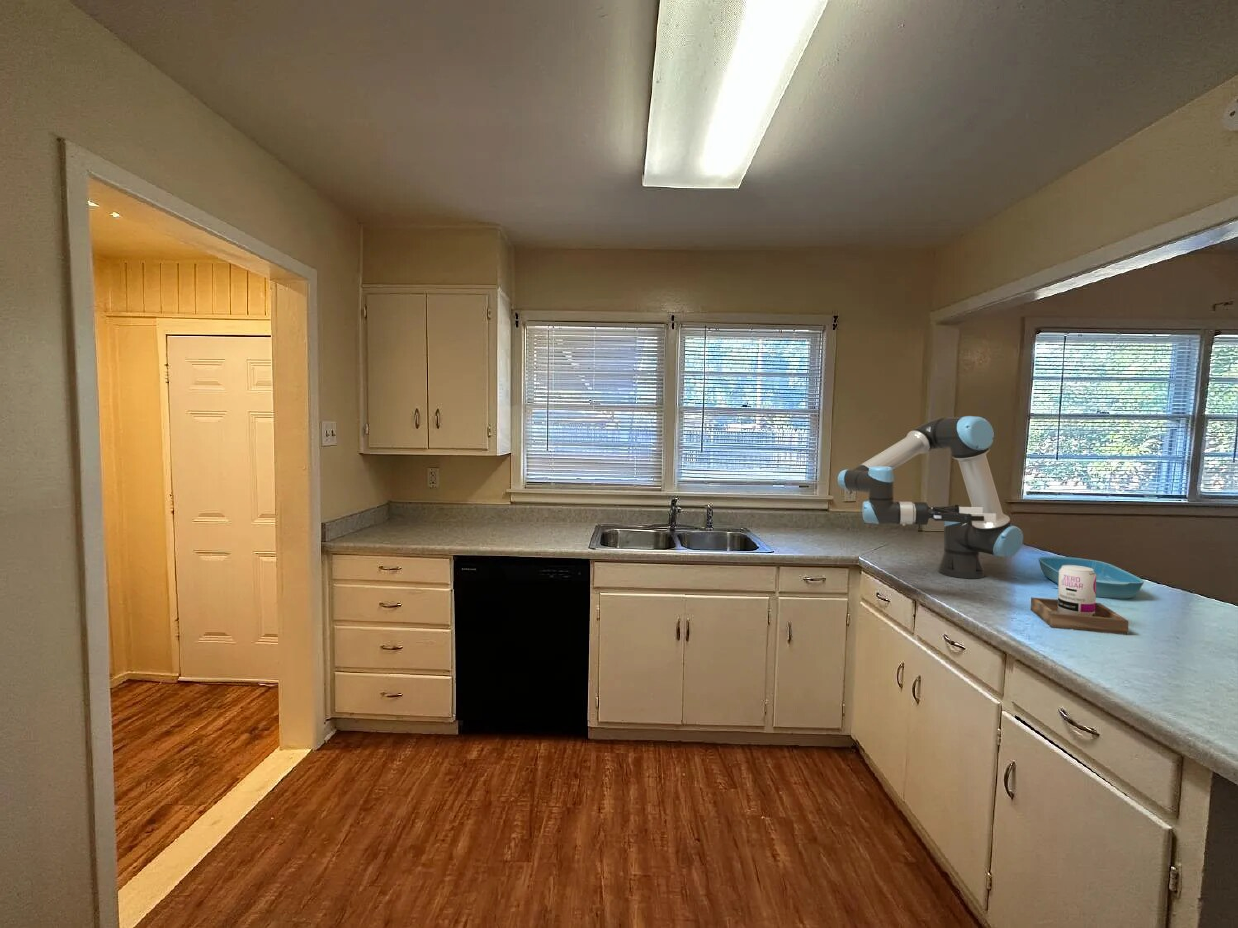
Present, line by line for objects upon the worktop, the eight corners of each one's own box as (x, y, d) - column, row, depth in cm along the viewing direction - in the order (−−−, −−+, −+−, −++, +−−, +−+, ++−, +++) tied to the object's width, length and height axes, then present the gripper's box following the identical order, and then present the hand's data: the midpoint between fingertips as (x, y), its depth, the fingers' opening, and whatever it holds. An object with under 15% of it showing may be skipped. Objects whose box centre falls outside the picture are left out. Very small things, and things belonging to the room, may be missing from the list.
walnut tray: (1030, 609, 164) (1031, 597, 163) (1099, 615, 158) (1099, 602, 157) (1051, 627, 149) (1051, 613, 149) (1127, 634, 143) (1128, 620, 142)
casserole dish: (1157, 606, 166) (1158, 584, 166) (1070, 599, 174) (1071, 578, 173) (1099, 576, 200) (1099, 558, 200) (1028, 571, 208) (1029, 554, 208)
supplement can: (1090, 616, 155) (1092, 566, 154) (1097, 624, 148) (1099, 572, 147) (1055, 611, 159) (1056, 563, 158) (1060, 620, 152) (1062, 569, 151)
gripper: (907, 518, 186) (977, 519, 178) (920, 531, 163) (1001, 533, 155) (907, 497, 185) (977, 498, 178) (920, 507, 162) (1002, 508, 155)
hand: (988, 514), depth 166 cm, fingers open, 13 cm apart
